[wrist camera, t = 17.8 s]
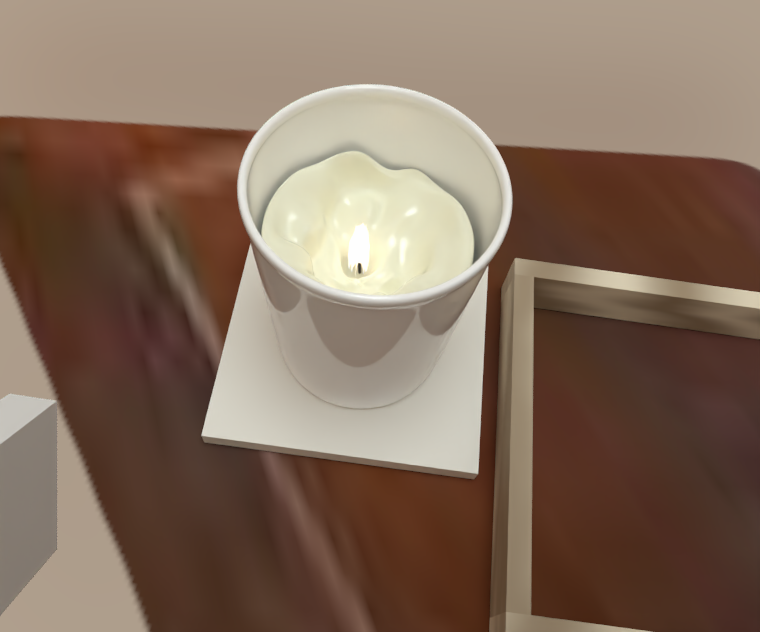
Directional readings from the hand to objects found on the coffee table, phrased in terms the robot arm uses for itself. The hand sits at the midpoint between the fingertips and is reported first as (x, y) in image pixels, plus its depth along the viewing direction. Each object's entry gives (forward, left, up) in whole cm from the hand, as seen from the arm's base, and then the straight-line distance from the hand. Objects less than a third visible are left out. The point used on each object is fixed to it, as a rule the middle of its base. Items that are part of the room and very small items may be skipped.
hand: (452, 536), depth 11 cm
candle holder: (+2, -13, -20) cm, 24 cm away
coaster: (+2, -13, -21) cm, 25 cm away
